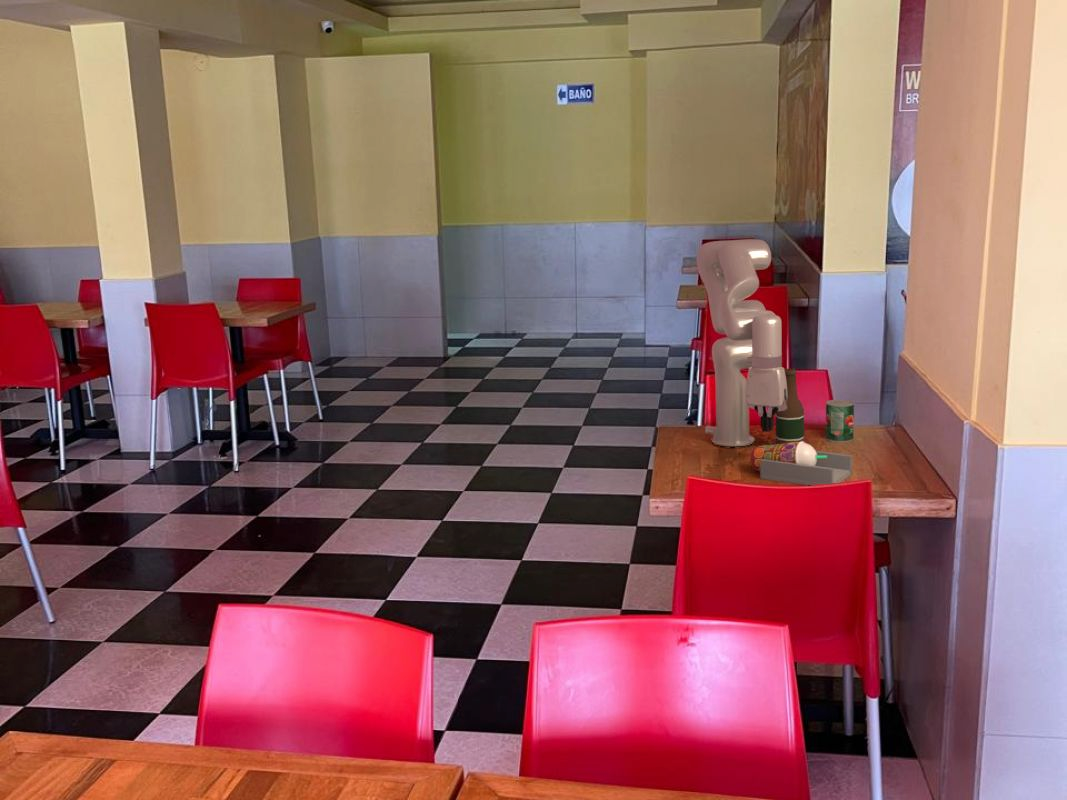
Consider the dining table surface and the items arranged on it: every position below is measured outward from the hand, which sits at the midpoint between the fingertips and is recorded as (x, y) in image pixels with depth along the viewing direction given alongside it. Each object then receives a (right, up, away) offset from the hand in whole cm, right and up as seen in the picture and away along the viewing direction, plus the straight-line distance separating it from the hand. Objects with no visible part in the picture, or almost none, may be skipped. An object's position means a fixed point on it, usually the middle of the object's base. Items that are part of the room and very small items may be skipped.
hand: (767, 430), depth 267 cm
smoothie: (-3, -8, +3) cm, 9 cm away
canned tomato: (+28, -4, +30) cm, 41 cm away
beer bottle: (+11, -7, +18) cm, 22 cm away
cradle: (+9, -12, -4) cm, 16 cm away
